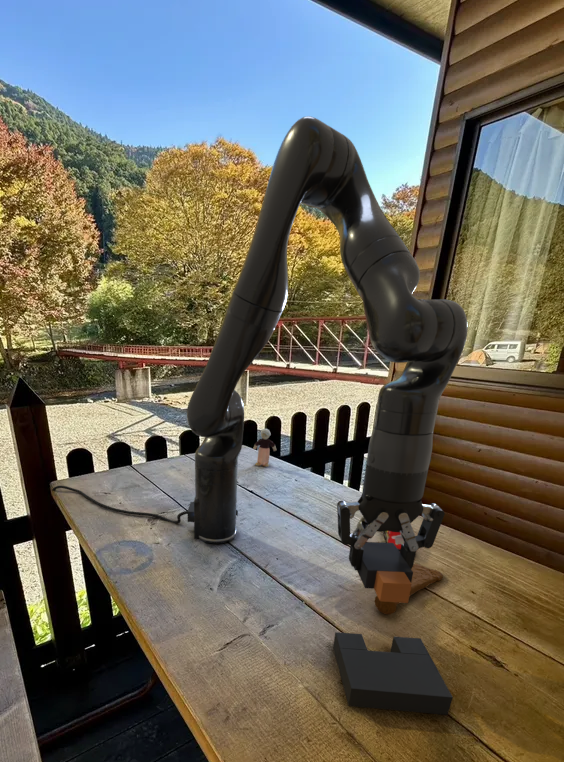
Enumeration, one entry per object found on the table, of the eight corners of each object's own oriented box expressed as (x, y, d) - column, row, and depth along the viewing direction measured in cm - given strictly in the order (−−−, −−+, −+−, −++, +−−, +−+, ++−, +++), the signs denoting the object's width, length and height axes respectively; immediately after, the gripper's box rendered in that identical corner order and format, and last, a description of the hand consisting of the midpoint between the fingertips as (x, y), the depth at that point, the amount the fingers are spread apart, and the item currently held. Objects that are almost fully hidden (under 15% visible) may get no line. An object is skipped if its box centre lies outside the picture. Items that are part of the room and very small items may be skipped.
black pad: (348, 706, 52) (351, 688, 51) (332, 647, 62) (335, 631, 61) (448, 715, 51) (453, 697, 50) (416, 654, 60) (420, 638, 59)
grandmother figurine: (252, 466, 137) (253, 429, 133) (252, 462, 141) (254, 426, 136) (275, 467, 136) (278, 430, 131) (275, 463, 139) (277, 427, 135)
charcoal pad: (370, 601, 55) (373, 582, 54) (351, 557, 65) (353, 541, 64) (417, 603, 54) (421, 584, 53) (390, 559, 64) (393, 542, 63)
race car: (415, 561, 83) (419, 544, 82) (386, 556, 85) (389, 539, 83) (407, 531, 95) (410, 515, 93) (382, 527, 96) (384, 512, 95)
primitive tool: (414, 565, 82) (418, 549, 80) (444, 576, 78) (448, 561, 77) (370, 609, 70) (373, 592, 68) (403, 625, 66) (407, 608, 65)
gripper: (441, 454, 57) (419, 557, 63) (335, 452, 59) (324, 553, 65) (468, 472, 50) (441, 586, 56) (348, 469, 52) (334, 581, 58)
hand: (379, 568), depth 61 cm, fingers closed on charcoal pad, 6 cm apart
